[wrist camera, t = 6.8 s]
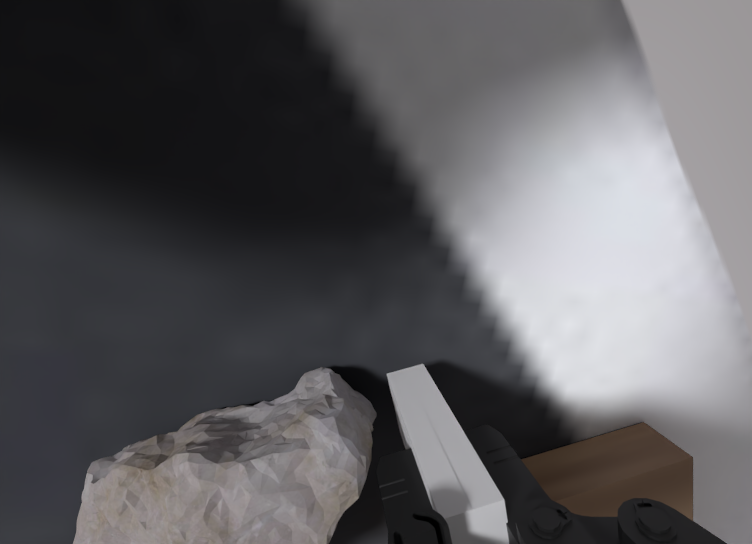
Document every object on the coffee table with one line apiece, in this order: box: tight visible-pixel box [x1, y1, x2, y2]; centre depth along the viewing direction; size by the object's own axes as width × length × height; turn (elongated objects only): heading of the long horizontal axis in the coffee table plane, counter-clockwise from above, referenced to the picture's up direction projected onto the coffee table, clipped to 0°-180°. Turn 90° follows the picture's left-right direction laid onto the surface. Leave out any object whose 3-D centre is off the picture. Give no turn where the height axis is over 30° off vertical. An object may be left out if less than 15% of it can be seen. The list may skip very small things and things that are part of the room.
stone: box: [73, 367, 377, 544], centre depth 13 cm, size 10×8×6 cm
